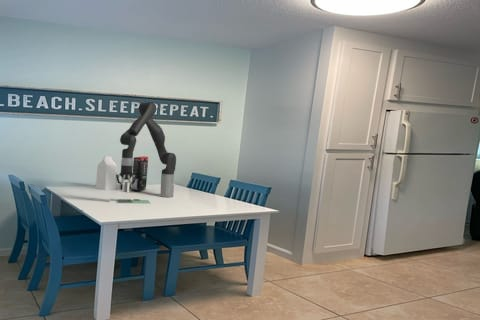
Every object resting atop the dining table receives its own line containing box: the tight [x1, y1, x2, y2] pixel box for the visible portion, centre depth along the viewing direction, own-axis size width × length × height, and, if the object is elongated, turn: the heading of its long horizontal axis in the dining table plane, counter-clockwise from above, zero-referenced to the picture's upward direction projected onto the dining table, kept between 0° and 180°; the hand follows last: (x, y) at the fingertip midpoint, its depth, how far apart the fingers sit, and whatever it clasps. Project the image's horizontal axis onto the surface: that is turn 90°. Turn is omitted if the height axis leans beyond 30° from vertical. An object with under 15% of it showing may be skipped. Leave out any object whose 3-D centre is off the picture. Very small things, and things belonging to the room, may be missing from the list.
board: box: [115, 198, 151, 205], centre depth 305 cm, size 22×14×2 cm, turn 109°
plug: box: [121, 181, 130, 193], centre depth 303 cm, size 4×4×6 cm
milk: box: [95, 155, 118, 191], centre depth 362 cm, size 12×12×26 cm
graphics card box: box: [130, 156, 149, 192], centre depth 364 cm, size 17×7×27 cm, turn 172°
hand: (125, 189), depth 304 cm, fingers closed on plug, 4 cm apart
